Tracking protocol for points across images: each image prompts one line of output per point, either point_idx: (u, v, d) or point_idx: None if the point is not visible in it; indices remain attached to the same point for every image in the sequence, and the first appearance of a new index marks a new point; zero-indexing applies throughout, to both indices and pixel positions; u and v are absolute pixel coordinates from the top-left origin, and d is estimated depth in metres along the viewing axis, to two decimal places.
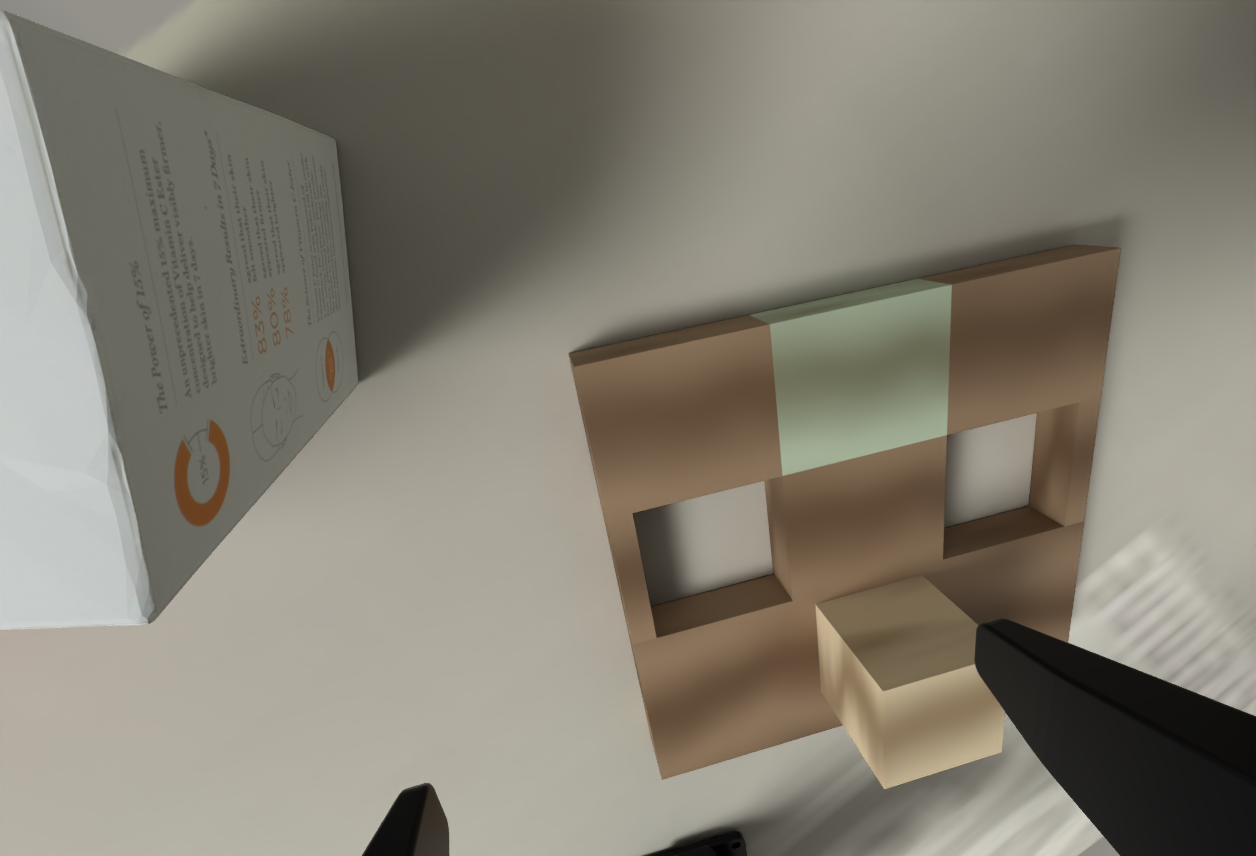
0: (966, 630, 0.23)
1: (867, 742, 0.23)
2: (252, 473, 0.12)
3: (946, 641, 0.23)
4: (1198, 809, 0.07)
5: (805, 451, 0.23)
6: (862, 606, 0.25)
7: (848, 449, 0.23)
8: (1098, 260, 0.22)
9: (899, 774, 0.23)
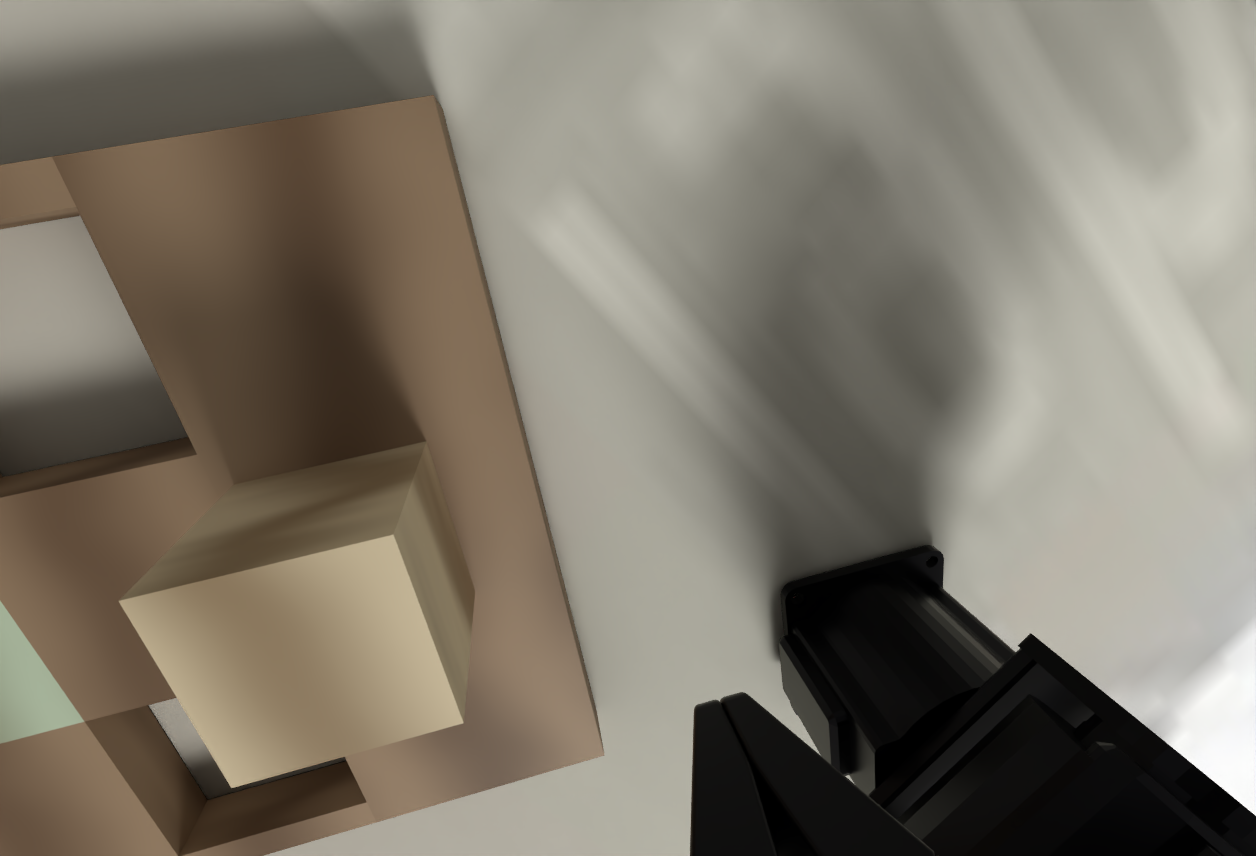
0: None
1: None
2: None
3: None
4: None
5: (35, 703, 0.17)
6: None
7: (15, 650, 0.16)
8: None
9: (430, 708, 0.13)
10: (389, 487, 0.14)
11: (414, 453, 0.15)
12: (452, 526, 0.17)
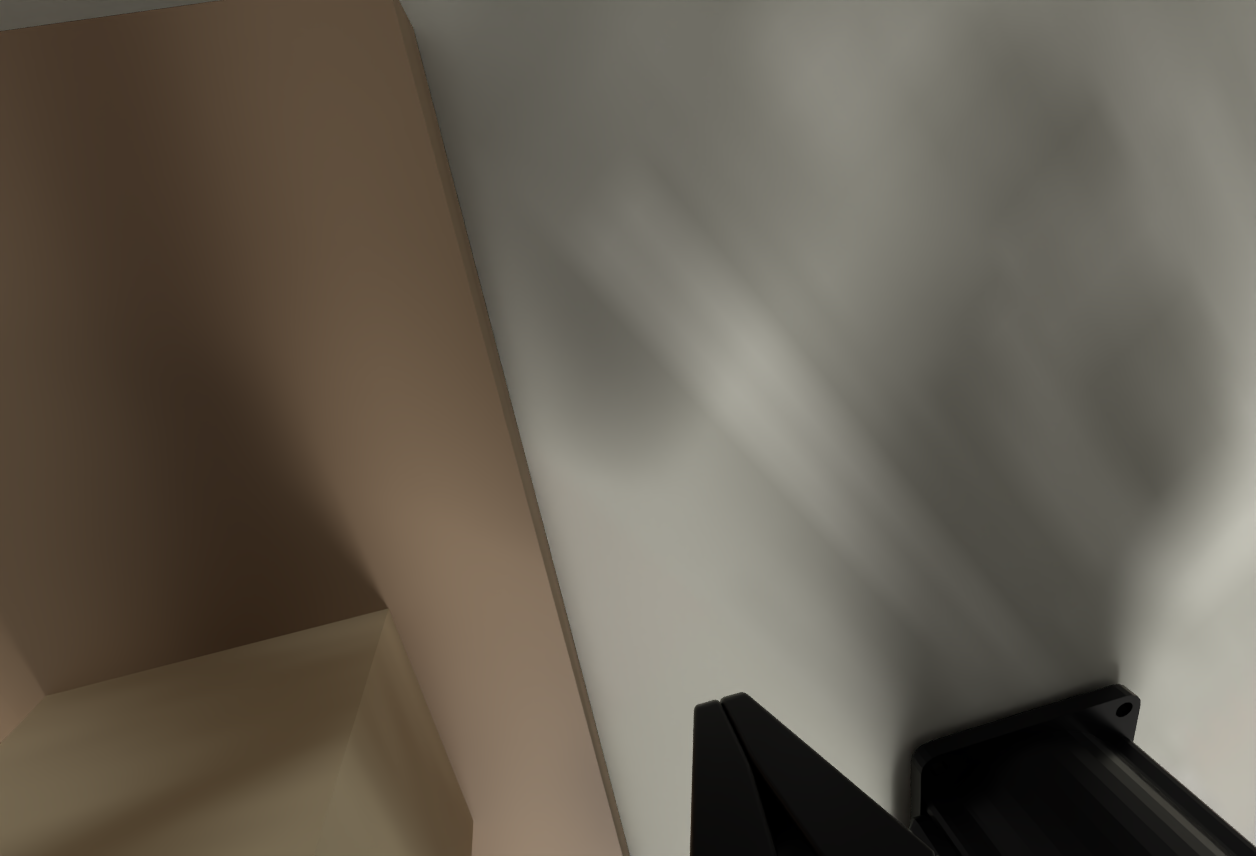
0: None
1: None
2: None
3: None
4: None
5: None
6: None
7: None
8: None
9: None
10: (301, 758, 0.07)
11: (363, 646, 0.09)
12: (435, 737, 0.10)
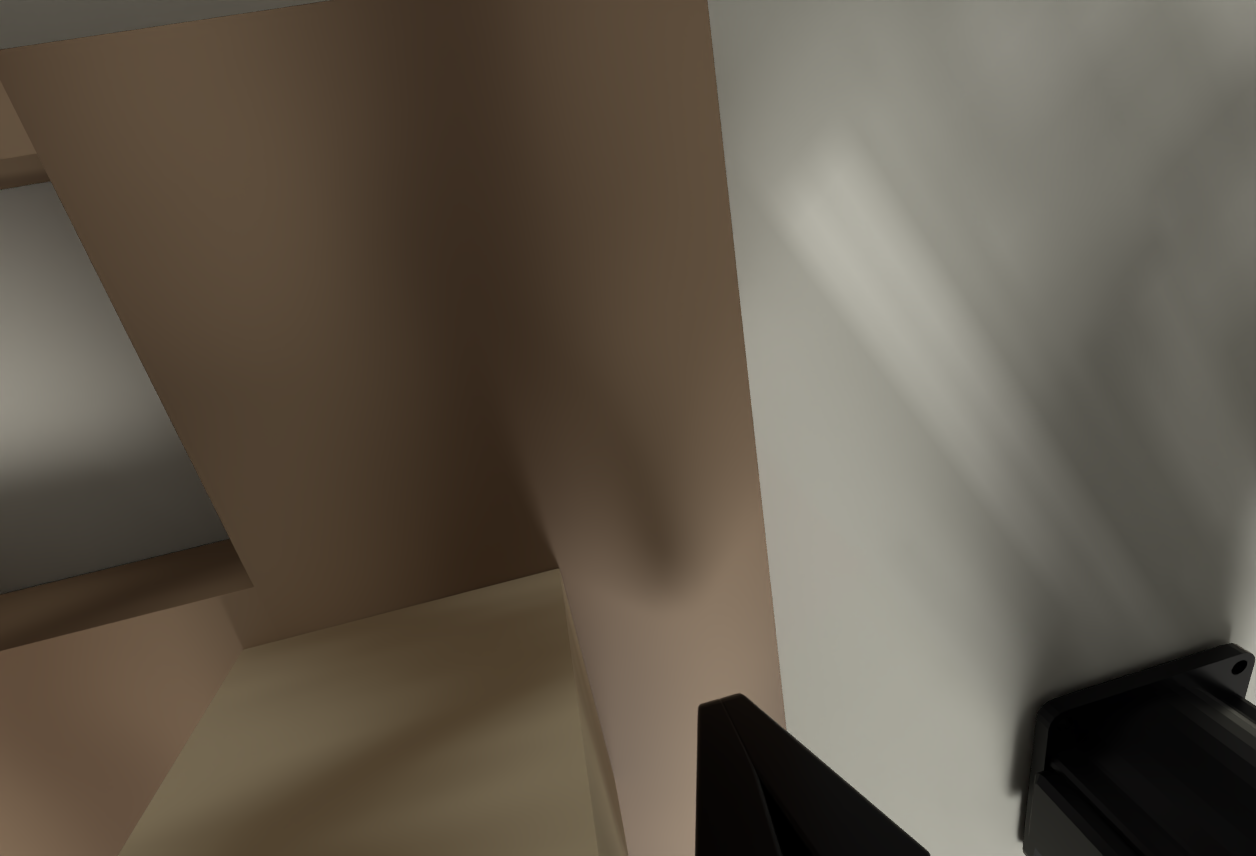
0: None
1: None
2: None
3: None
4: None
5: None
6: None
7: None
8: None
9: None
10: (533, 695, 0.07)
11: (549, 600, 0.09)
12: (591, 695, 0.11)
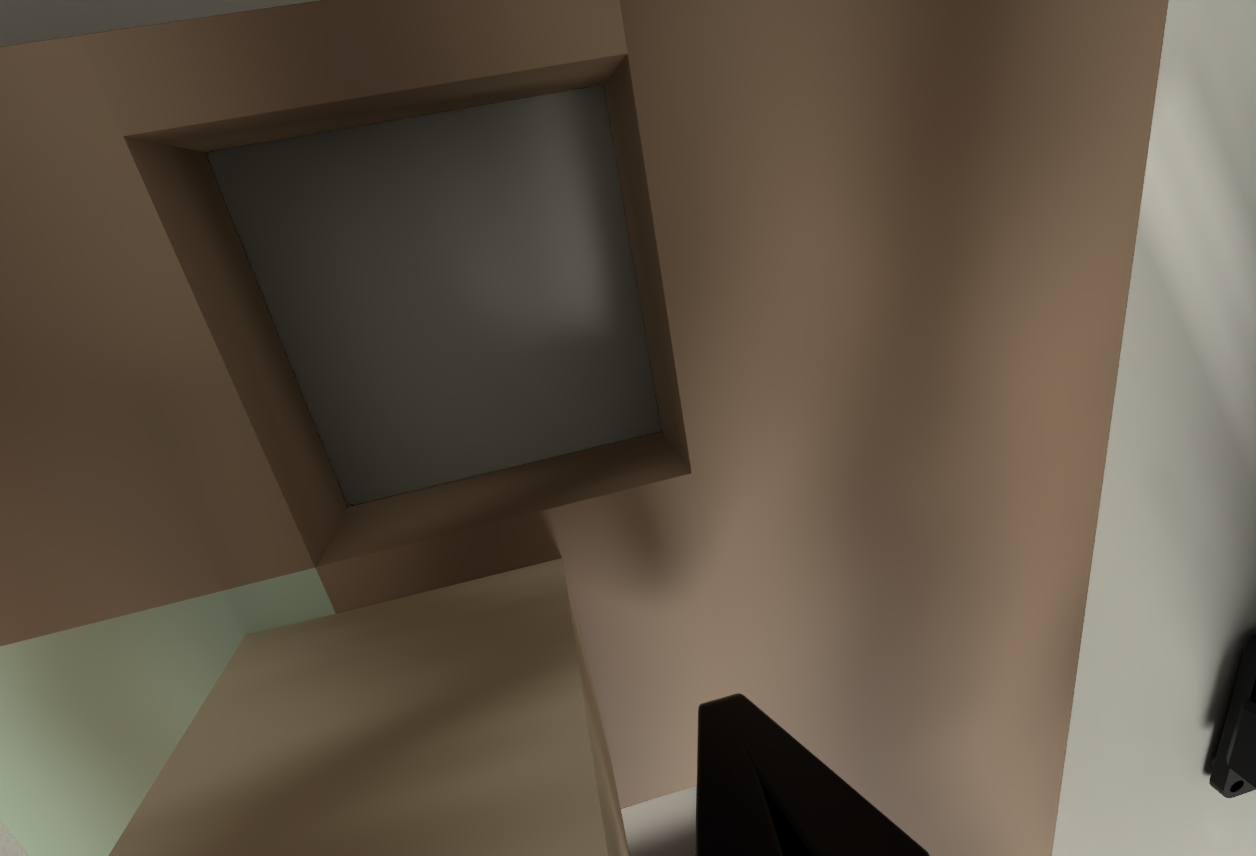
0: None
1: None
2: None
3: None
4: None
5: None
6: None
7: None
8: None
9: None
10: (537, 680, 0.07)
11: (552, 589, 0.09)
12: (592, 686, 0.11)
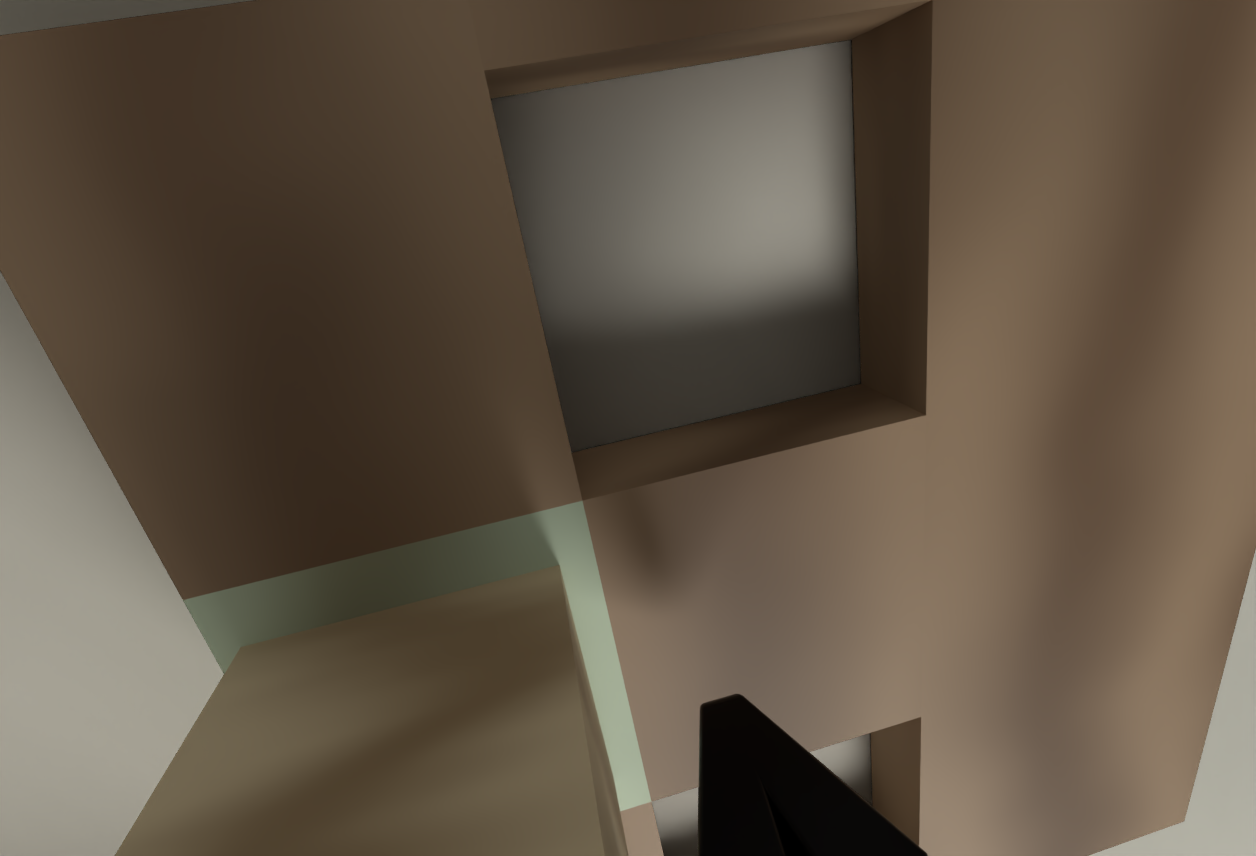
0: None
1: None
2: None
3: None
4: None
5: None
6: None
7: (605, 705, 0.11)
8: None
9: None
10: (535, 691, 0.07)
11: (550, 597, 0.09)
12: (591, 692, 0.11)
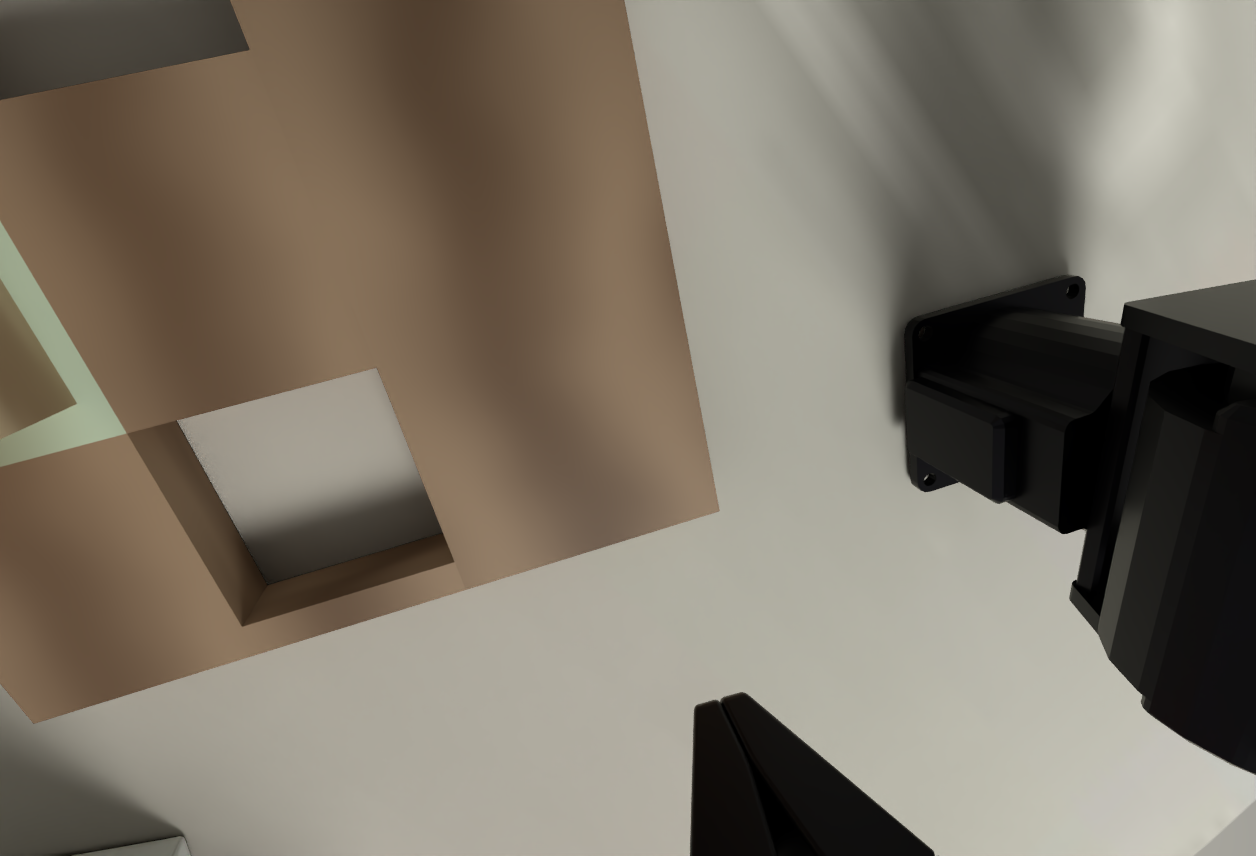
0: None
1: None
2: None
3: None
4: None
5: None
6: None
7: (39, 326, 0.13)
8: None
9: None
10: None
11: None
12: (8, 304, 0.13)
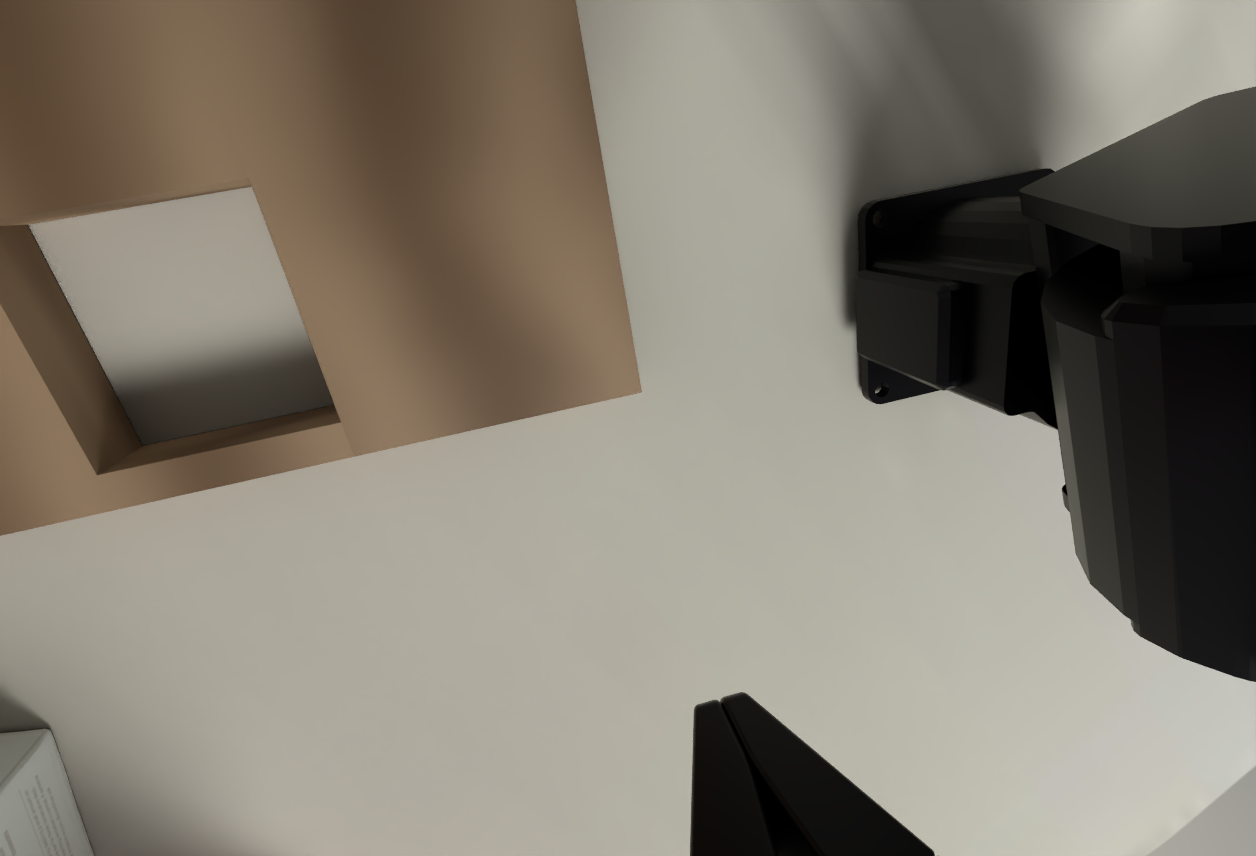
0: None
1: None
2: None
3: None
4: None
5: None
6: None
7: None
8: None
9: None
10: None
11: None
12: None
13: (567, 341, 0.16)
